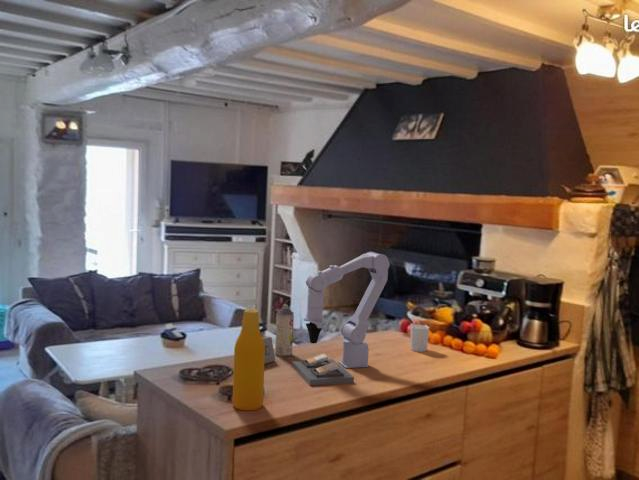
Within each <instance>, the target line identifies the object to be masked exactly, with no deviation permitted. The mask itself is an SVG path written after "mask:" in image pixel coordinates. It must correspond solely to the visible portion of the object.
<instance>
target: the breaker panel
mask: <svg viewBox="0 0 639 480" xmlns="http://www.w3.org/2000/svg"><path fill="white" fill-rule="evenodd" d="M332 362H335V363H336V364H337V365H338V369H335V370H333V371H328V373H325V374H321V375H319V374H318V373H317V371H316V369H317V368H319V367H322V366H324V365H327V364H330V363H332ZM291 367H292V368H293V369H294V370H295V372H297V374H298V375H299V376H300V377H301V378H302V379H303V380H304V381H305V383H307V384H308V386H326V385H339V384H354V383H355V382H354V381H355V376H353V375H352V374H351V373H350V372H348V371H347V370H346V368H345V367H344V366H343V367H342V365H341V364H340V363H339V362H338V361H335V360H334V359H332V358H331V359H330V358H328V360H326V361H323V362H321V361H318V363H317V364H314V365H309V364H308V363H307V359H301V360H292V361H291Z"/></svg>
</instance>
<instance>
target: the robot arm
mask: <svg viewBox="0 0 639 480" xmlns="http://www.w3.org/2000/svg"><path fill="white" fill-rule="evenodd" d="M390 265H391V264H390V261H389V258H388V256H387V255H385V254H383V253H377V252H374V251H368V252H366V253H363V254H361V255H359V256H357V257H355V258H353V259H352V260H349V261H348V262H346V263H344V264H342V265H340V266H338V265H336V264H334V265H332V264H331V265H329V267H327V268H326V269H323V270H318V271H317V273H311V274H310V275H308V277H307V279H306V280H305V285H306V286H307V287H308V289H307V291H308V293H307V305H306V306H307V308H306V310H307V311H306V315H305V317H304V318H303V321H304V322H309V323H305V326H306V329H307V332H308V336H309V343H310V344H317V343H318V340H319V336H320V334H321V331H322V330H323V328H324V319H323V311H324V310H323V309H324V291H325V289H326V288H327V287H328V286H331V285H332V284H334V283H337V282H338V281H340V280H342V279H343V277H344V275H346V274H348V273H351V272H354V271H356V270H358V269H361V268H365V269H367V270H368V271H369V274H370V276H371V281H370V283H369V284H368V286H367V288H366V290H365V292H364V294H363V296H362V298H361V300H360V302H359V304H358V306H357V308H356V310H355V312H354V314H353V315H352V316H350V317H349V318H348V319H347V321H346V322H344V324H342V325H341V329H340V333H341V335H342V336H343V340H342V341H343V342H342V357H341V358H342V359H341V360H338V361H337V363H338V364H339V365H340V366H341V367H342V366H343V368H344V369H350V368H351V369H352V368H353V369H354V368H369V345H368V343H367V341H364V340H365V339H366V334H367V329H368V319H369V318H370V315H371V313H372V312H373V309H374V308H375V305H376V304H377V301H378V299H379V298H380V296H381V294H382V292H383V290H384V287H385V286H386V284H387V282H388V276H389V268H390Z"/></svg>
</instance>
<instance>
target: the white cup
mask: <svg viewBox="0 0 639 480" xmlns="http://www.w3.org/2000/svg"><path fill="white" fill-rule="evenodd" d="M429 335H430V327H429V326H428V325H424V324H412V325H410V350H412V351H413V352H418V353H419V352H421V353H425V352H426V351H428V344H429Z"/></svg>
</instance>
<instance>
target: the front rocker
mask: <svg viewBox="0 0 639 480" xmlns="http://www.w3.org/2000/svg"><path fill="white" fill-rule="evenodd" d="M335 362H336V361H335ZM335 362H332V363H330V364H327V365H324V366H322V367H319V368H317V369H316V371H317V373H318V374H319V375H321V374H325V373H328V371H333V370H335V369H338V365H337V364H336V363H335Z"/></svg>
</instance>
